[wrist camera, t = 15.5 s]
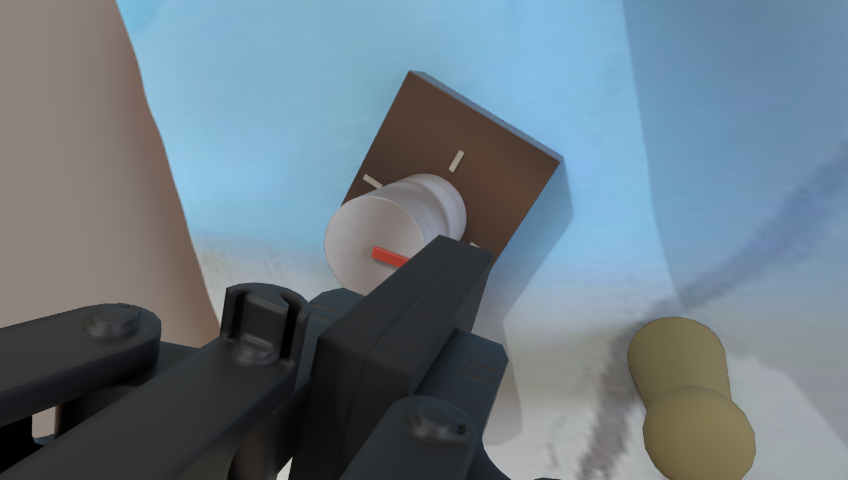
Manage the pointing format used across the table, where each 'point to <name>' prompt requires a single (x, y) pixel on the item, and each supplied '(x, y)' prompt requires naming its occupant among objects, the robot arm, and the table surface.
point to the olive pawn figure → (689, 403)
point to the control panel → (459, 158)
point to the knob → (390, 229)
